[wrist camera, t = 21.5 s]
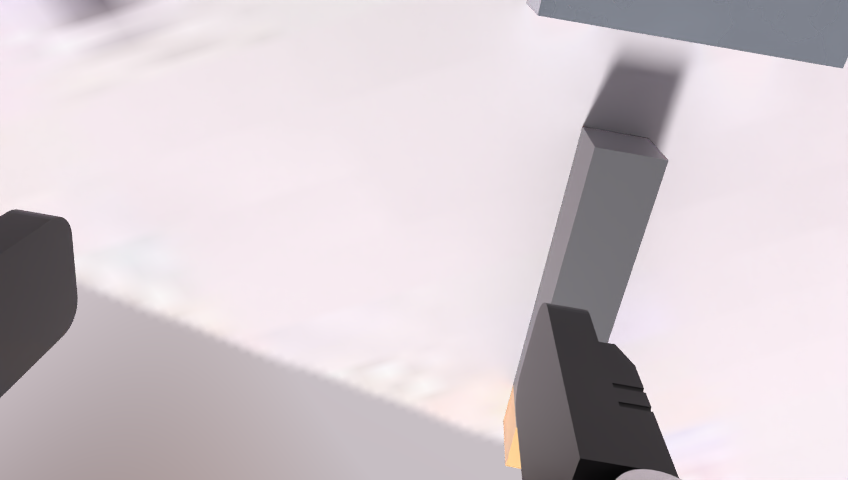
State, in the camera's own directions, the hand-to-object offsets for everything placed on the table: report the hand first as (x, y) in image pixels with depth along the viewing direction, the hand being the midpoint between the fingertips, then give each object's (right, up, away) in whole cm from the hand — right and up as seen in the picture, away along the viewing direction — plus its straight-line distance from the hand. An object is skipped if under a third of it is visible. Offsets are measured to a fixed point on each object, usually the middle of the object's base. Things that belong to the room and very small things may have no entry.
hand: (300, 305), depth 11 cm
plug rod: (+11, -2, +27) cm, 29 cm away
